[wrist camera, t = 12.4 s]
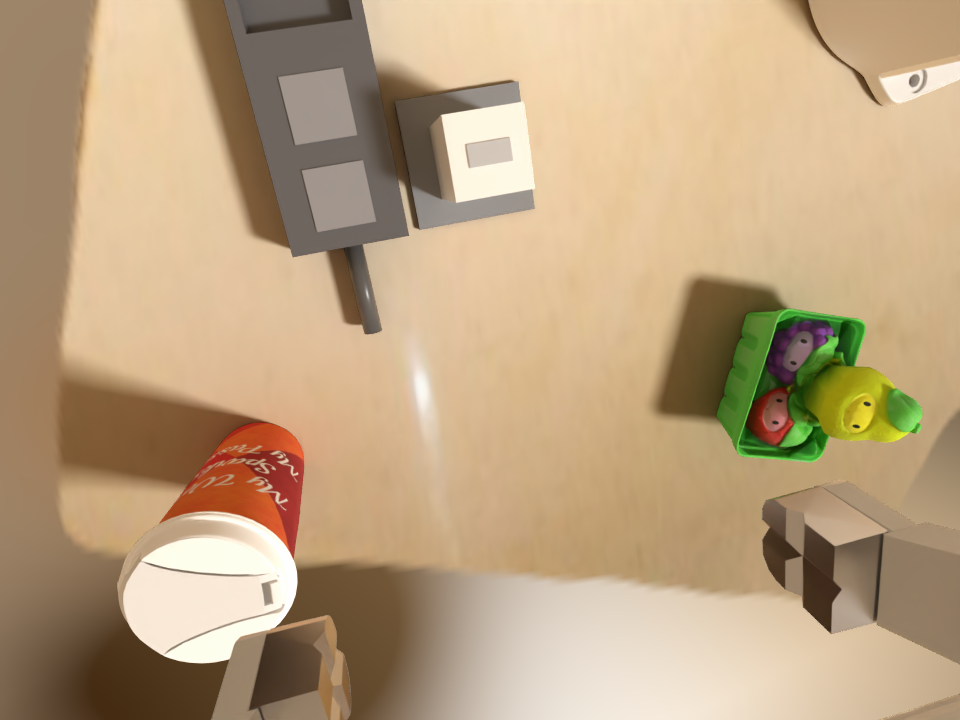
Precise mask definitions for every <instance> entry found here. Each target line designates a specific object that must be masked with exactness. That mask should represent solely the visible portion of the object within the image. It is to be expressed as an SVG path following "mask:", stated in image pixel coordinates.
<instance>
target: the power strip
mask: <svg viewBox="0 0 960 720" xmlns="http://www.w3.org/2000/svg"><path fill="white" fill-rule="evenodd" d="M223 1H224V4H225V8H226V12H227V15H228V19H229V23H230V27H231V30H232V34H233V38H234V41H235V45H236V49H237V53H238V56H239V60H240V64H241V67H242V71H243V75H244V78H245V82H246V86H247V90H248V93H249V97H250V101H251V104H252V108H253V112H254V116H255V119H256V123H257V127H258V130H259V134H260V138H261V142H262V145H263V149H264V153H265V156H266V160H267V164H268V167H269V171H270V175H271V179H272V182H273V186H274V190H275V193H276V197H277V201H278V205H279V208H280V212H281V216H282V219H283V223H284V227H285V230H286V234H287V238H288V242H289V245H290V249H291V253H292V256H293V257H297V256H302V255H307V254H313V253H318V252H324V251H329V250H334V249H340V248H344V250H345V254H346V258H347V263H348V267H349V271H350V275H351V279H352V283H353V288H354V292H355V296H356V300H357V304H358V309H359V313H360V317H361V321H362V325H363V329H364V334H374V333H377V332H380V331H381V330H382V328H381V323H380V319H379V315H378V310H377V306H376V302H375V297H374V293H373V288H372V284H371V280H370V275H369V271H368V267H367V262H366V258H365V253H364V249H363V245H362V244H367V243H372V242H377V241H383V240H388V239H394V238H399V237H404V236H409V233H408V228H407V223H406V218H405V213H404V208H403V203H402V198H401V193H400V188H399V183H398V178H397V173H396V168H395V163H394V159H393V154H392V149H391V144H390V139H389V134H388V129H387V124H386V119H385V114H384V109H383V104H382V99H381V94H380V89H379V84H378V79H377V74H376V69H375V64H374V59H373V54H372V49H371V44H370V39H369V34H368V29H367V24H366V19H365V14H364V9H363V5H362V0H223Z"/></svg>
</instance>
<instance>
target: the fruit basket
mask: <svg viewBox="0 0 960 720" xmlns="http://www.w3.org/2000/svg"><path fill="white" fill-rule="evenodd" d="M865 333H866V325H865V323H864V322H863V321H862V320H860V319H856V318H848V317H841V316H834V315H827V314H821V313H814V312H808V311H802V310H796V309H781V310H778V311H773V312H750V313H747V314H746V317H745V320H744V324H743V327H742V338H740V340H739V342H738V344H737V347H736V351H735V354H734V357H733V367H732V368H731V370H730V371H729V374H728V378H727V381H726V384H725V388H724V394H725V396H723V398H722V399H721V401H720V405H719V408H718V411H717V417H718V419H719V421H720V422H721V424H722V425H723V427H724V428H725V430H726V431H727V433H728V435H729V436H730V438H731V439H732V442H733V445H734V447H735V449H736V451H737V453H738V454H739V455H741V456H743V457H756V458H768V459H780V460H790V461H800V462H814V461H816V460H818V459H819V458H820V457H821V456H822V455H823V452H824V450H825V447H826V444H827V441H828V438H829V436H831V437H834V438H837V439H841V440H852V441H858V440H873V441H877V442H893V441H896V440H898V439H900V438H902V437H904V436H905V435H907V434H908V433H909V432H912V433H915V434H917V433H918V432H919V431H920V429H921V425H920V424H918V422H919V421H920V419H921V418H922V409H921V407H920V405H919V404H918V403H917V402H916V401H915V400H914V399H913V398H911V397H909V396H907V395H906V394H904V393H902V392H901V391H900V390H898V389H896V388H895V387H894V385H893V384H892V383H891V382H890V381H889V380H888V379H887V378H886V377H885V376H884V375H883V374H881V373H880V372H878V371H876V370H874V369H872V368H869V367H855V363H856V360H857V357H858V354H859V351H860V348H861V345H862V342H863V339H864V336H865Z"/></svg>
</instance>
